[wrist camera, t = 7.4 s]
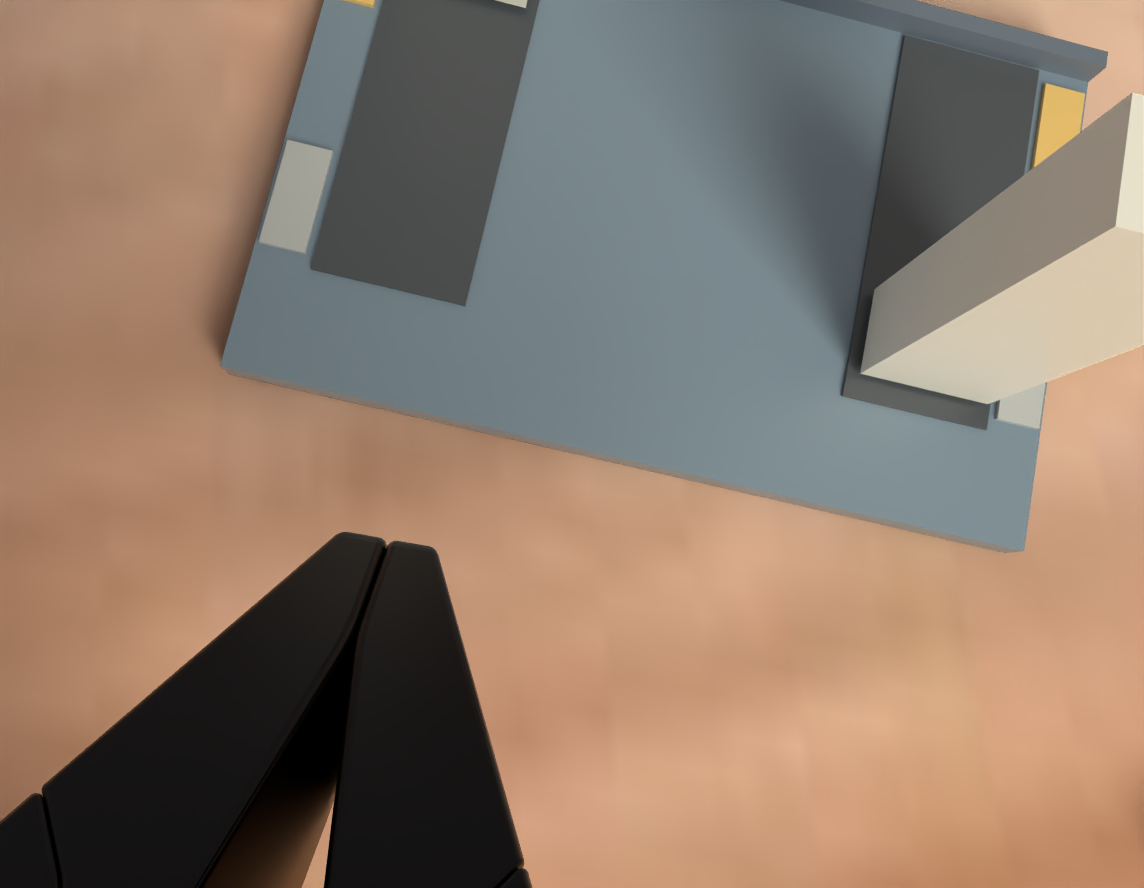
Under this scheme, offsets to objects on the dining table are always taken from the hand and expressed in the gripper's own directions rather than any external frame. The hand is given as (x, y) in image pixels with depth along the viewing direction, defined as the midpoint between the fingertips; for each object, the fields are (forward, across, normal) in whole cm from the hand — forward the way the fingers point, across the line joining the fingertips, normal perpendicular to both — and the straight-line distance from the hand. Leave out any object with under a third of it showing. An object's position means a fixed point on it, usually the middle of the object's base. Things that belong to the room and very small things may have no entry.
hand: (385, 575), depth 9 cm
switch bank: (+16, -4, +2) cm, 17 cm away
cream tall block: (+14, -10, +3) cm, 17 cm away
